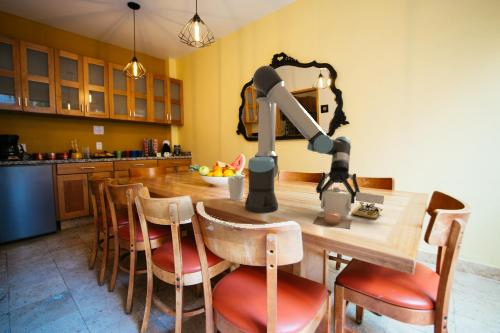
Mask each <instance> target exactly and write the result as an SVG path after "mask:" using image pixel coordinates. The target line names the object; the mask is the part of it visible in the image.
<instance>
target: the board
mask: <svg viewBox="0 0 500 333" xmlns="http://www.w3.org/2000/svg"><path fill="white" fill-rule="evenodd" d="M312 225H316V226H323V227H331V228H338V229H346V230H351V225H352V220H351V219H343V218H340V224H337V225H333V224H328V223H325V216H321V215H317V216H316V218H315V219H314V221H313V223H312Z"/></svg>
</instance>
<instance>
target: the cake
mask: <svg viewBox="0 0 500 333" xmlns="http://www.w3.org/2000/svg"><path fill="white" fill-rule="evenodd" d="M384 199H385V195H382V194H381V195H380V194H379V195H378V194H374V193H373V194H372V193H369V192H368V193H367V192H356V196H355V201H356V202H359V204H360V205H359V206H357V207H356V208H354V209H353V210H352V211H351V212H350V213H351V215H356V216H359V217H364V218H369V219H377V218H378V216H379V214H380V212H382V211H383V208H380V207H378V206H375V205H376V204H378V205H384ZM365 203H366V204H365Z"/></svg>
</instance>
